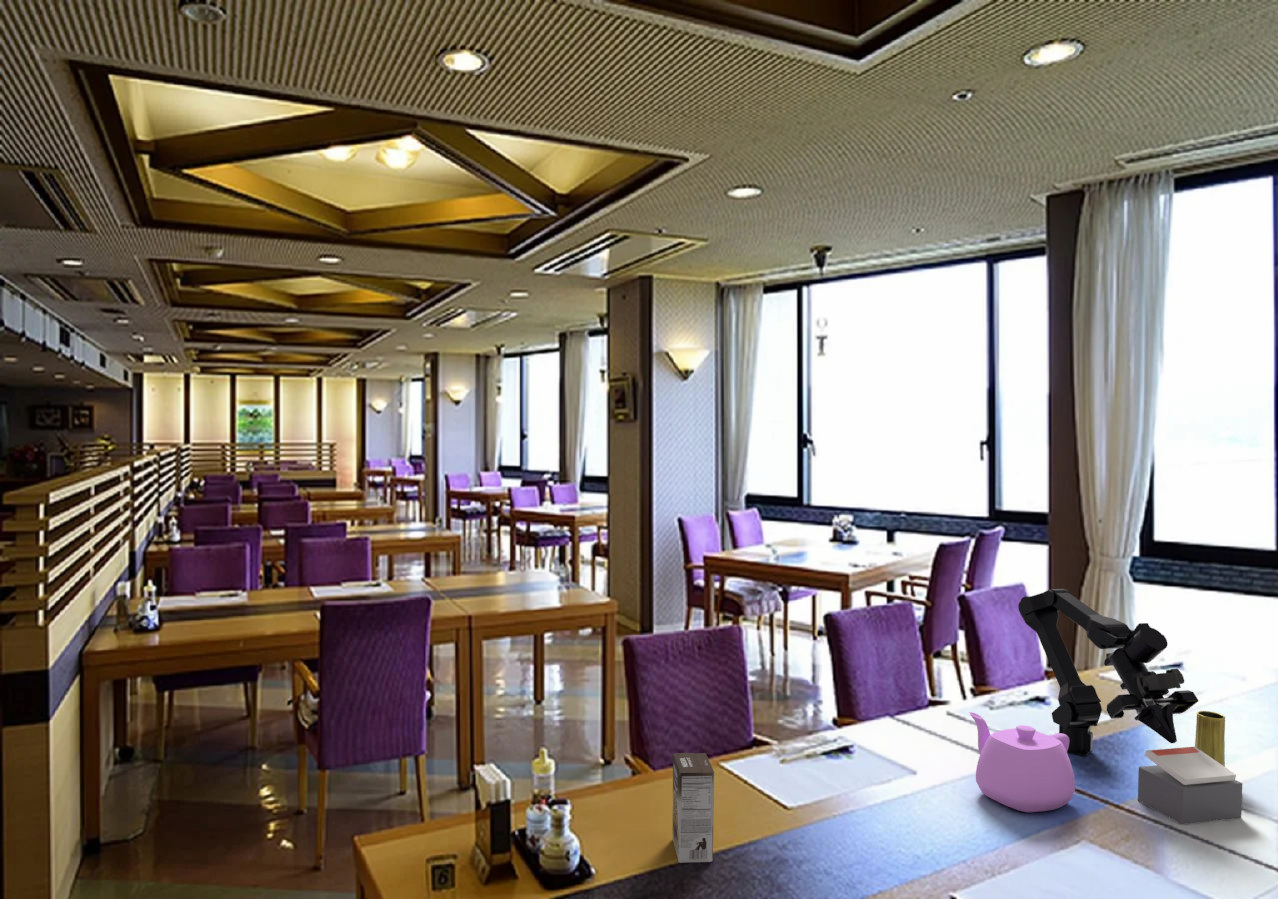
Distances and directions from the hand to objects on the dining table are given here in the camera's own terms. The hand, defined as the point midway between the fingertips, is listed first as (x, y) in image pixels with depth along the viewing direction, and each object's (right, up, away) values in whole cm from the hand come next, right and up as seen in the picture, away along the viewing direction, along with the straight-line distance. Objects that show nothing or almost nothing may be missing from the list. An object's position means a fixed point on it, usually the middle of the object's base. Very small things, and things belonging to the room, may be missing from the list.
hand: (1174, 742), depth 179 cm
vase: (+15, -12, +12) cm, 23 cm away
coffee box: (-101, -12, -23) cm, 104 cm away
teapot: (-31, -12, +1) cm, 34 cm away
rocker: (+1, -3, -4) cm, 5 cm away
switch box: (+1, -12, -4) cm, 13 cm away
